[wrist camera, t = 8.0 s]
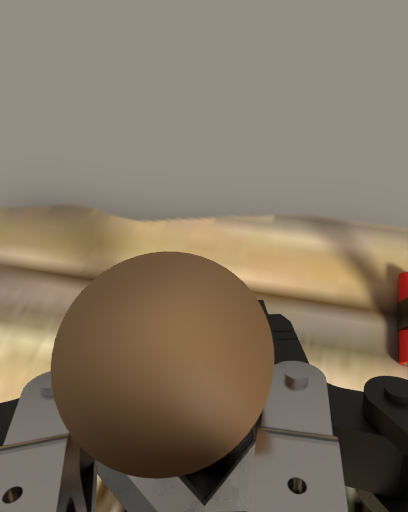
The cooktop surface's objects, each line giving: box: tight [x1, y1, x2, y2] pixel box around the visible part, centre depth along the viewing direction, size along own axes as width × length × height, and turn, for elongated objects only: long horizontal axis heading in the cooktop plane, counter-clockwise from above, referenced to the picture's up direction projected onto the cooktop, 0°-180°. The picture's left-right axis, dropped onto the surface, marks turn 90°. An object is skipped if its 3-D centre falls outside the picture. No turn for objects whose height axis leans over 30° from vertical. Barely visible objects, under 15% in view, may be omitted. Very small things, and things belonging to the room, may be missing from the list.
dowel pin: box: [51, 252, 274, 479], centre depth 11 cm, size 4×4×11 cm
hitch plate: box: [96, 439, 256, 512], centre depth 25 cm, size 14×14×4 cm
